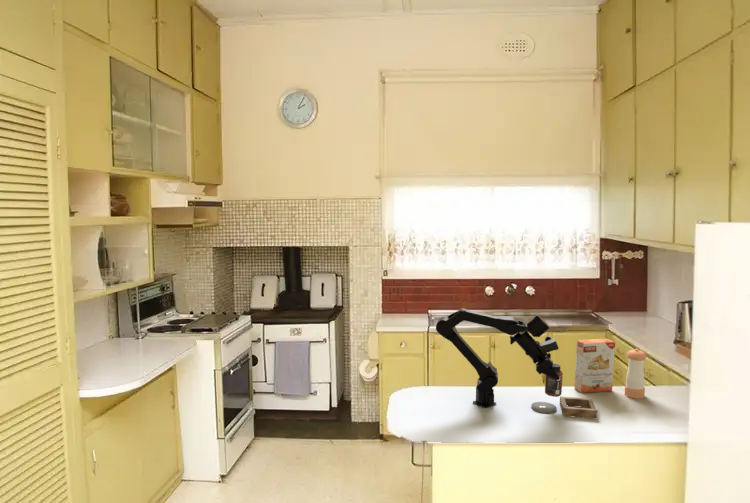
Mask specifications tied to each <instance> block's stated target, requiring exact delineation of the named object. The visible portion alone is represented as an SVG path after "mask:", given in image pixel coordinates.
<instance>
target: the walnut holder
mask: <svg viewBox="0 0 750 503" xmlns="http://www.w3.org/2000/svg"><path fill="white" fill-rule="evenodd" d="M567 405H568V406H567ZM559 406H560V410H562V411H561V414H562V417H570V416H574V417H573V418H582V417H584V418H585V419H594V418H597V419H598V410H597V407H596V405H595V403H594V400H593V398H589V397H588V398H586V397H572V396H561V395H560V396H559ZM574 406H581V407H574ZM587 407H588V408H587ZM584 418H583V419H584Z"/></svg>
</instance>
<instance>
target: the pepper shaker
mask: <svg viewBox="0 0 750 503" xmlns="http://www.w3.org/2000/svg"><path fill="white" fill-rule="evenodd" d="M626 357H627V358H628V366H627V367H628V368H627V372H626V375H625V379H626V380H625V385H624V395H625V396H626V397H628V398H631V399H636V400H637V399H644V398H645V392H646V391H645V390H646V388H645V375H644V374H645V373H644V365H645V364H644V363H645V360H646V359H647V354H646V352H645V351H642V350H640V349H639V348H634V349H631V350H630V349H629V350H628V351H627V353H626Z"/></svg>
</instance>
